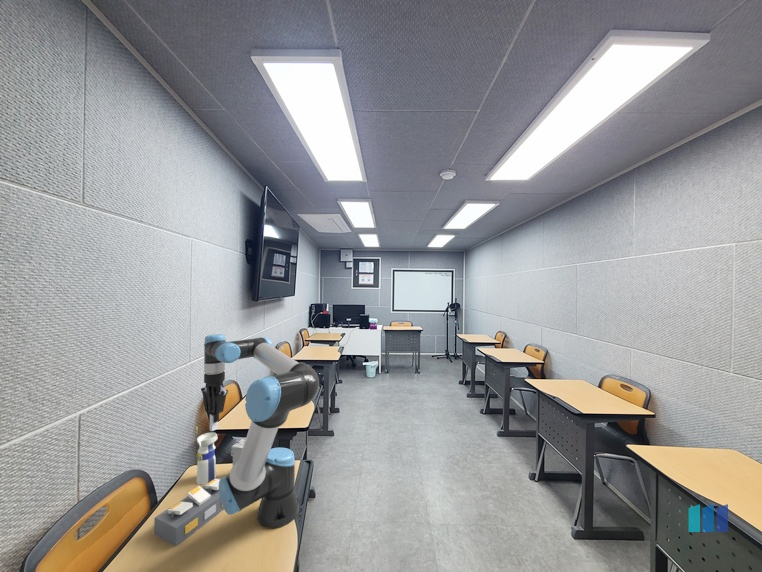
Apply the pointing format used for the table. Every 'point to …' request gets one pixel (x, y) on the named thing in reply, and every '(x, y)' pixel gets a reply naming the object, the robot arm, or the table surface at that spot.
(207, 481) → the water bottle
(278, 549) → the table surface
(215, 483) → the rocker
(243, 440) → the circuit breaker
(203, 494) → the block
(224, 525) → the table surface
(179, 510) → the rocker
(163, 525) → the panel
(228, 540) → the table surface
